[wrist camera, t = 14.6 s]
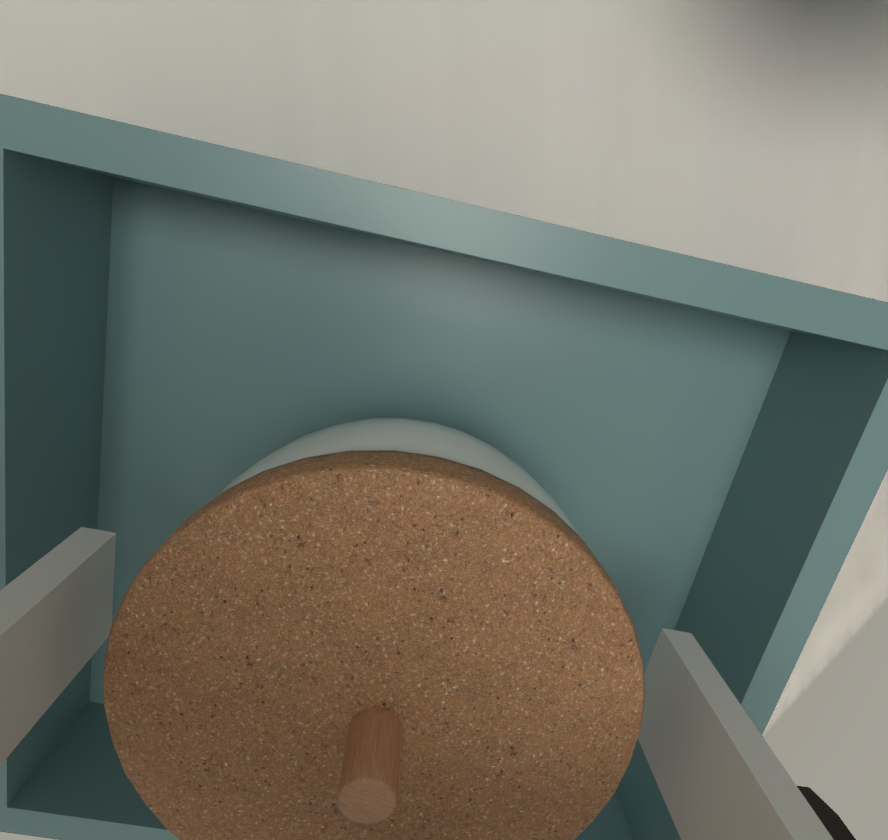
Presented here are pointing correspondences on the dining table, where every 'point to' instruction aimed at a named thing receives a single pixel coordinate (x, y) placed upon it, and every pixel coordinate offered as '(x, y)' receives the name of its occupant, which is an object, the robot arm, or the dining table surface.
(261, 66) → the dining table surface
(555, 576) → the lidded jar
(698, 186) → the dining table surface
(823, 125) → the dining table surface
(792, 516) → the tote
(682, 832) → the robot arm
